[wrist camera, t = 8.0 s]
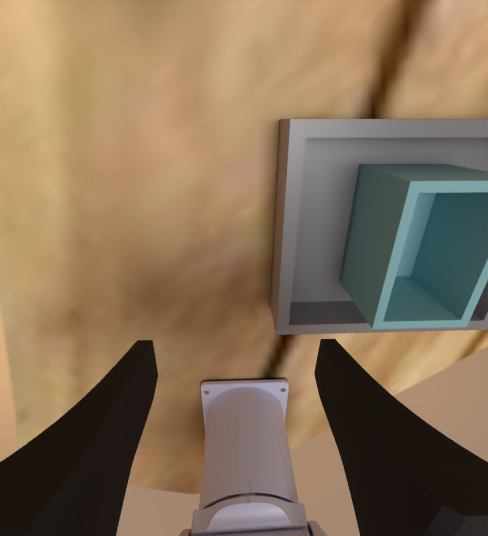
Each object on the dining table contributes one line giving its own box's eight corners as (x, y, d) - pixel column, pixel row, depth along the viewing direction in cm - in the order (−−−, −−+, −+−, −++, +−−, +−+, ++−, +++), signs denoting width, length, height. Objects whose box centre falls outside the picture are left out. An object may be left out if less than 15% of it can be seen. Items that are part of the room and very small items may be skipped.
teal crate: (411, 279, 21) (466, 326, 16) (339, 280, 21) (372, 329, 16) (447, 163, 17) (532, 180, 12) (359, 164, 17) (410, 181, 12)
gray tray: (455, 301, 23) (490, 329, 20) (270, 305, 22) (276, 334, 19) (528, 119, 17) (595, 119, 14) (279, 119, 17) (290, 119, 13)
